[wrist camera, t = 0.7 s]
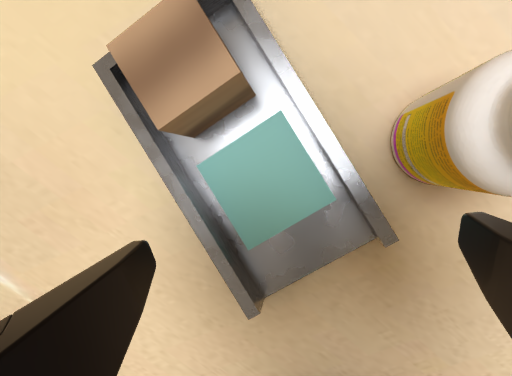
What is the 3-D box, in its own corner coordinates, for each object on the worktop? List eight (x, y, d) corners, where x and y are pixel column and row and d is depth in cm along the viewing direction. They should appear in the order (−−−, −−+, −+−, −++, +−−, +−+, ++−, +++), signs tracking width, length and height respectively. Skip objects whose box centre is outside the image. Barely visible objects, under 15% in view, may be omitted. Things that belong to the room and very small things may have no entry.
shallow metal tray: (384, 228, 23) (399, 240, 20) (255, 298, 25) (248, 319, 22) (236, -11, 23) (225, -41, 20) (120, 78, 25) (92, 65, 22)
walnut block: (256, 95, 23) (240, 71, 17) (193, 138, 24) (157, 130, 18) (215, 28, 23) (185, -18, 17) (154, 74, 24) (106, 45, 18)
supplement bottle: (428, 202, 22) (591, 253, 10) (369, 136, 23) (456, 105, 10) (506, 142, 21) (804, 114, 9) (443, 74, 22) (646, -51, 9)
